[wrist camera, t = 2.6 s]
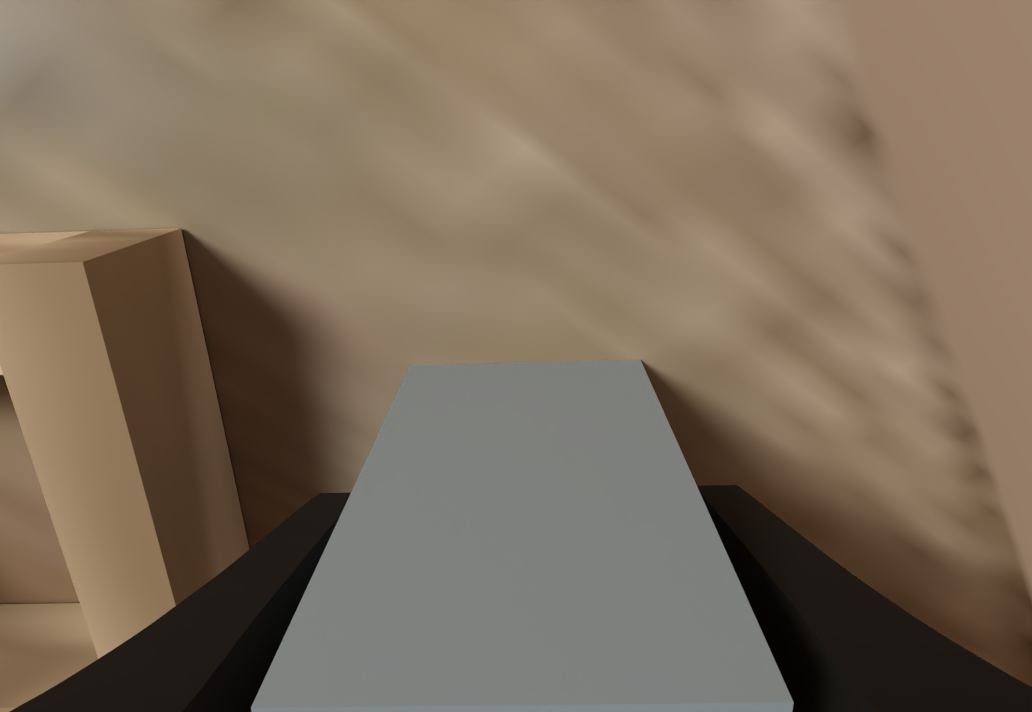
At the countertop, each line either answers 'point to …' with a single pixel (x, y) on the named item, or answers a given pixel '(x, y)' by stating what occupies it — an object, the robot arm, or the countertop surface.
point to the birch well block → (112, 441)
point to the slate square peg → (524, 561)
